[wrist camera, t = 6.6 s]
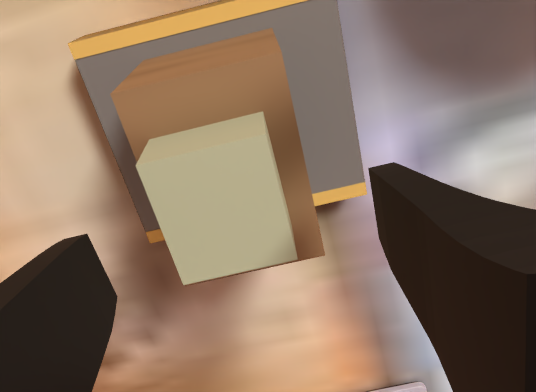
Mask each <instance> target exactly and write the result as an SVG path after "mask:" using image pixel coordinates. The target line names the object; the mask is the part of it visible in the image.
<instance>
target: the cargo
mask: <svg viewBox="0 0 536 392" xmlns="http://www.w3.org/2000/svg"><path fill="white" fill-rule="evenodd" d="M136 168H137V171H138V173H139V176H140V178H141V181H142V183H143V186H144V188H145V191H146V193H147V196H148V198H149V201H150V203H151V206H152V208H153V211H154V213H155V216H156V218H157V221H158V223H159V226H160V228H161V231H162V233H163V236H164V238H165V241H166V243H167V246H168V248H169V251H170V253H171V256H172V258H173V261H174V263H175V266H176V268H177V271H178V273H179V276H180V278H181V281H182V283H183V285H187V284H191V283H196V282H200V281H205V280H209V279H214V278H218V277H223V276H227V275H231V274H236V273H240V272H245V271H249V270H254V269H258V268H263V267H267V266H271V265H276V264H280V263H285V262H289V261H294V260H298V258H297V252H296V247H295V241H294V236H293V230H292V225H291V221H290V217H289V213H288V209H287V205H286V201H285V197H284V193H283V189H282V185H281V181H280V177H279V173H278V169H277V165H276V161H275V157H274V153H273V149H272V145H271V141H270V137H269V133H268V129H267V125H266V121H265V117H264V113H263V111H262V112H258V113H254V114H250V115H246V116H242V117H238V118H234V119H230V120H226V121H222V122H218V123H214V124H210V125H206V126H202V127H197V128H193V129H189V130H185V131H181V132H177V133H173V134H169V135H165V136H161V137H157V138H153V139H149V141H148V143H147V145H146V146H145V148H144V150H143V152H142V154H141V156H140V158H139V160H138V162H137V164H136Z"/></svg>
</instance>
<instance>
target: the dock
mask: <svg viewBox="0 0 536 392" xmlns="http://www.w3.org/2000/svg"><path fill="white" fill-rule="evenodd" d="M269 28H272V29H273V32H274V34H275V37H276V39H277V42H278V44H279V47H280V49H281V52H282V56H283V61H284V66H285V70H286V75H287V80H288V84H289V89H290V94H291V98H292V103H293V108H294V112H295V117H296V122H297V126H298V131H299V136H300V140H301V145H302V150H303V154H304V159H305V164H306V168H307V173H308V178H309V182H310V187H311V192H312V196H313V201H314V206H318V205H322V204H327V203H331V202H335V201H340V200H344V199H349V198H353V197H357V196H362V195H366V194H367V191H366V184H365V179H364V172H363V166H362V159H361V153H360V147H359V140H358V134H357V127H356V121H355V114H354V108H353V101H352V95H351V88H350V82H349V76H348V69H347V63H346V56H345V50H344V43H343V37H342V30H341V24H340V17H339V11H338V5H337V0H220V1H217V2H213V3H209V4H205V5H201V6H197V7H193V8H189V9H186V10H182V11H178V12H174V13H170V14H166V15H162V16H158V17H154V18H151V19H147V20H143V21H139V22H135V23H131V24H127V25H123V26H120V27H116V28H112V29H108V30H104V31H100V32H96V33H92V34H88V35H85V36H82V37H80V38H78V39H76V40H74V41H72V42H70V43H68V46H69V48H70V50H71V53H72V55H73V58H74V60H75V61H76V64H77V66H78V69H79V71H80V74H81V76H82V78H83V81H84V83H85V86H86V88H87V91H88V93H89V95H90V98H91V100H92V103H93V105H94V108H95V110H96V112H97V115H98V117H99V120H100V122H101V125H102V127H103V130H104V132H105V134H106V137H107V139H108V142H109V144H110V147H111V149H112V151H113V154H114V156H115V159H116V161H117V164H118V166H119V168H120V171H121V173H122V176H123V178H124V181H125V183H126V185H127V188H128V190H129V193H130V195H131V198H132V200H133V202H134V205H135V207H136V210H137V212H138V215H139V217H140V219H141V222H142V224H143V227H144V229H145V232H146V235H147V237H148V240H149V242H150V243H154V242H159V241H163V240H165V238H164V236H163V233H162V231H161V228H160V226H159V223H158V221H157V218H156V216H155V213H154V211H153V208H152V206H151V203H150V201H149V198H148V196H147V193H146V191H145V188H144V186H143V183H142V181H141V178H140V176H139V173H138V171H137V168H136V164H137V161H136V159H135V156H134V154H133V151H132V148H131V146H130V143H129V141H128V138H127V136H126V133H125V130H124V128H123V125H122V123H121V120H120V118H119V115H118V113H117V110H116V107H115V105H114V102H113V100H112V97H111V95H110V94H111V93H112V92H113V91H114V90H115V89H116V87H117V86H118V85H119V84H120V83H121V82H122V81H123V80H124V79H125V78H126V77H127V76H128V75H129V74H130V73H131V72H132V71H133V70H134V69H135V68H136V67H137V66H138V65H139V64H140V63H141V62H142V61H143V60H146V59H150V58H154V57H158V56H162V55H166V54H170V53H174V52H178V51H182V50H185V49H189V48H193V47H197V46H201V45H205V44H209V43H213V42H217V41H221V40H225V39H229V38H233V37H237V36H241V35H245V34H249V33H253V32H257V31H261V30H265V29H269Z"/></svg>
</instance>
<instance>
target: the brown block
mask: <svg viewBox="0 0 536 392" xmlns="http://www.w3.org/2000/svg"><path fill="white" fill-rule="evenodd" d="M110 95H111V97H112V100H113V102H114V105H115V107H116V110H117V113H118V115H119V118H120V120H121V123H122V125H123V128H124V130H125V133H126V136H127V138H128V141H129V143H130V146H131V148H132V151H133V154H134V156H135V159H136V161H137V162H138V160H139V158H140V156H141V154H142V152H143V150H144V148H145V146H146V145H147V143H148V141H149V139H153V138H157V137H161V136H165V135H169V134H173V133H177V132H181V131H185V130H189V129H193V128H197V127H202V126H206V125H210V124H214V123H218V122H222V121H226V120H230V119H234V118H238V117H242V116H246V115H250V114H254V113H258V112H262V111H263V113H264V117H265V121H266V125H267V129H268V133H269V137H270V141H271V145H272V149H273V153H274V157H275V161H276V165H277V169H278V173H279V177H280V181H281V185H282V189H283V193H284V197H285V201H286V205H287V209H288V213H289V217H290V221H291V225H292V230H293V236H294V241H295V247H296V252H297V258H298V260H294V261H289V262H285V263H280V264H276V265H271V266H267V267H263V268H258V269H254V270H249V271H245V272H240V273H236V274H231V275H227V276H223V277H218V278H214V279H209V280H205V281H200V282H196V283H191V284H187V285H185V286H188V285H192V284H197V283H201V282H206V281H210V280H215V279H219V278H224V277H229V276H233V275H238V274H242V273H247V272H251V271H256V270H260V269H265V268H270V267H274V266H279V265H283V264H288V263H292V262H297V261H301V260H306V259H310V258H315V257H320V256H324V255H325V252H324V248H323V243H322V238H321V234H320V229H319V224H318V220H317V215H316V210H315V206H314V201H313V196H312V192H311V187H310V182H309V178H308V173H307V168H306V164H305V159H304V154H303V150H302V145H301V140H300V136H299V131H298V126H297V122H296V117H295V112H294V108H293V103H292V98H291V94H290V89H289V84H288V80H287V75H286V70H285V66H284V61H283V56H282V52H281V49H280V47H279V44H278V42H277V39H276V37H275V34H274V32H273V29H272V28H269V29H265V30H261V31H257V32H253V33H249V34H245V35H241V36H237V37H233V38H229V39H225V40H221V41H217V42H213V43H209V44H205V45H201V46H197V47H193V48H189V49H185V50H182V51H178V52H174V53H170V54H166V55H162V56H158V57H154V58H150V59H146V60H143V61H142V62H141V63H140V64H139V65H138V66H137V67H136V68H135V69H134V70H133V71H132V72H131V73H130V74H129V75H128V76H127V77H126V78H125V79H124V80H123V81H122V82H121V83H120V84H119V85H118V86H117V87H116V89H115V90H114V91H113V92H112V93H111V94H110Z"/></svg>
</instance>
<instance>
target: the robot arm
mask: <svg viewBox="0 0 536 392" xmlns="http://www.w3.org/2000/svg"><path fill="white" fill-rule="evenodd" d="M368 169H369V176H370V182H371V189H372V195H373V202H374V208H375V215H376V221H377V228H378V234H379V239H380V242H381V245H382V247H383V250H384V253H385V255H386V258H387V260H388V263H389V265H390V268H391V270H392V272H393V274H394V276H395V278H396V280H397V281H398V283H399V285H400V287H401V289H402V290H403V292H404V294H405V296H406V298H407V299H408V301H409V303H410V305H411V307H412V308H413V310H414V312H415V314H416V316H417V317H418V319H419V321H420V323H421V324H422V326H423V328H424V330H425V332H426V333H427V335H428V337H429V339H430V341H431V343H432V345H433V347H434V349H435V351H436V353H437V355H438V357H439V359H440V362H441V364H442V367H443V369H444V371H445V374H446V376H447V378H448V381H449V383H450V385H451V388H452V390H453V392H536V210H535V209H529V208H524V207H520V206H516V205H512V204H507V203H503V202H499V201H495V200H491V199H488V198H484V197H481V196H478V195H475V194H472V193H469V192H466V191H463V190H460V189H458V188H455V187H452V186H450V185H447V184H444V183H442V182H440V181H437V180H435V179H432V178H430V177H428V176H425V175H423V174H421V173H418V172H416V171H414V170H412V169H409V168H407V167H405V166H402V165H400V164H397V163H394V162H393V163H389V164H384V165H380V166H376V167H371V168H368ZM116 303H117V295H116V293H115V291H114V289H113V286H112V284H111V282H110V280H109V278H108V276H107V274H106V272H105V270H104V268H103V266H102V264H101V262H100V260H99V257H98V255H97V253H96V251H95V249H94V247H93V245H92V243H91V241H90V239H89V237H88V235H87V234H84V235H80V236H75V237H71V238H67V239H64V240H62V241H60V242H58V243H56V244H54V245H53V246H51V247H50V248H48V249H47V250H45V251H44V252H42V253H41V254H39V255H38V256H37V257H35V258H34V259H32V260H31V261H30V262H28V263H27V264H26V265H24V266H23V267H22V268H20V269H19V270H18V271H16V272H15V273H14V274H12V275H11V276H10V277H8V278H7V279H5V280H4V281H3V282H1V283H0V392H92V389H93V386H94V384H95V381H96V378H97V375H98V372H99V369H100V366H101V363H102V360H103V357H104V354H105V351H106V348H107V345H108V342H109V338H110V335H111V332H112V327H113V322H114V316H115V310H116ZM369 392H427V389H426V387H425V384H424V383H422V382H414V383H409V384H404V385H399V386H394V387H389V388H384V389H379V390H374V391H369Z"/></svg>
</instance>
